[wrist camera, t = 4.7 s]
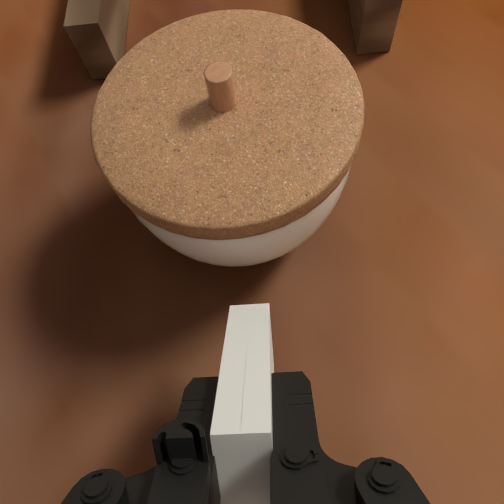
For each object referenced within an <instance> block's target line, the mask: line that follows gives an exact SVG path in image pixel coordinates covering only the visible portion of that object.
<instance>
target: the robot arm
mask: <svg viewBox="0 0 504 504" xmlns="http://www.w3.org/2000/svg"><path fill="white" fill-rule="evenodd" d="M152 442H153V446H154V451H155V456H156V461H157V466H155V467H154V468H152V469H150V470H149V471H146V472H144V473H141V474H138V475H135V476H132V477H129V478H125V479H124V477H123V476H122V475H121V473H120V472H118V471H116V470H113V469H100V470H97V471H94V472H91V473H89V474H88V475H86V476H85V477H83V478H81V479H80V480H79V481H78V482H77V483H76V485H75V486H74V487H73V488H72V489H71V491H70V492H69V493H68V495H67V496H66V497H65V499H64V500H63V502H62V503H61V504H430V503H429V501H428V500H427V498H426V497H425V495H424V494H423V492H422V491H421V489H420V488H419V486H418V485H417V483H416V482H415V480H414V479H413V477H412V476H411V474H410V473H409V472H408V471H407V470H406V469H405V468H404V466H403V465H401V464H399V463H397V462H396V461H394V460H391V459H387V458H383V457H377V458H370V459H367V460H365V461H363V462H362V463H361V464H360V465H359V466H358V467H357V468H356V467H352V466H348V465H344V464H341V463H338V462H336V461H334V460H333V459H331V458H330V457H328V456H327V455H326V454H325V453H324V451H323V450H322V448H321V447H320V443H319V439H318V432H317V425H316V418H315V412H314V406H313V398H312V391H311V384H310V381H309V379H308V378H307V377H306V376H305V374H304V373H303V372H302V371H301V372H281V373H274V362H273V348H272V335H271V322H270V308H269V303H265V304H248V305H230V309H229V315H228V322H227V328H226V334H225V341H224V347H223V354H222V360H221V366H220V373H219V377H200V378H193V379H192V381H191V382H190V383H189V384H188V385H187V386H186V388H185V390H184V393H183V397H182V403H181V405H180V409H179V413H178V417H177V420H174V421H171V422H169V423H167V424H165V425H163V426H162V427H161V428H160V429H159V430H157V431H156V433H155V435H154V437H153V438H152Z"/></svg>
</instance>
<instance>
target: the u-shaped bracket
mask: <svg viewBox="0 0 504 504" xmlns="http://www.w3.org/2000/svg"><path fill="white" fill-rule="evenodd" d="M347 3H348V8H349V14H350V19H351V25H352V30H353V35H354V41H355V46H356V52H357V54H368V53H378V52H389V51H390V47H391V43H392V39H393V35H394V31H395V27H396V23H397V19H398V15H399V11H400V8H401V4H402V0H347ZM129 6H130V0H68V3H67V9H66V14H65V20H64V26H63V27H64V28H65V30H66V32H67V34H68V36H69V38H70V39H71V41H72V43H73V45H74V47H75V49H76V50H77V52H78V54H79V56H80V58H81V60H82V61H83V63H84V65H85V67H86V69H87V71H88V72H89V74H90V76H91V78H92V79H103V78H107V76H108V74H109V73H110V72H111V70H112V69H113V68H114V66H115V65H116V63H117V62H118V61H119V60H120V59H121V58H122V57H123V56H124V55H125V47H126V37H127V26H128V16H129Z"/></svg>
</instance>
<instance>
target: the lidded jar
mask: <svg viewBox="0 0 504 504" xmlns="http://www.w3.org/2000/svg"><path fill="white" fill-rule="evenodd" d="M364 106H365V105H364V99H363V93H362V88H361V85H360V82H359V80H358V77H357V75H356V72H355V70H354V69H353V67H352V66H351V64H350V62H349V61H348V59H347V58H346V56H345V55H344V54H343V53H342V52H341V51H340V50H339V49H338V48H337V46H336V45H335V44H334V43H333V42H331V41H330V40H329V39H328V38H327V37H325V36H324V35H323V34H322V33H320V32H319V31H317V30H315V29H313V28H312V27H310V26H308V25H306V24H304V23H302V22H299V21H297V20H295V19H292V18H290V17H287V16H283V15H279V14H275V13H271V12H264V11H258V10H222V11H213V12H208V13H203V14H199V15H195V16H191V17H188V18H185V19H182V20H178V21H176V22H174V23H172V24H170V25H167V26H165V27H163V28H161V29H159V30H157V31H156V32H154V33H152V34H151V35H149V36H147V37H145V38H144V39H143V40H141V41H140V42H139V43H138V44H136V45H135V46H134V47H133V48H131V49H130V50H129V51H128V52H127V53H126V54H125V55H124V56H123V57H122V58H121V59H120V60H119V61H118V62H117V63H116V65H115V66H114V68H113V69H112V70H111V72H110V73H109V74H108V76H107V78H106V79H105V81H104V83H103V85H102V87H101V88H100V90H99V93H98V96H97V99H96V102H95V105H94V108H93V113H92V120H91V144H92V148H93V152H94V156H95V160H96V162H97V164H98V166H99V168H100V171H101V173H102V175H103V177H104V178H105V180H106V181H107V182H108V184H109V185H110V186H111V188H112V189H113V190H114V192H115V193H116V194H117V196H118V197H119V198H120V200H121V201H122V202H123V203H124V204H126V205H127V206H128V207H129V208H130V209H131V211H132V212H133V213H134V215H135V216H136V217H137V218H138V219H139V221H140V222H141V223H142V224H143V225H144V226H145V227H146V228H147V229H148V230H150V231H151V232H152V233H153V234H154V235H155V236H156V237H157V238H158V239H160V240H161V241H162V242H163V243H165V244H166V245H168V246H169V247H171V248H173V249H174V250H176V251H177V252H179V253H181V254H183V255H185V256H187V257H190V258H192V259H194V260H197V261H200V262H204V263H208V264H212V265H219V266H230V267H234V266H250V265H255V264H259V263H264V262H267V261H270V260H273V259H275V258H278V257H281V256H283V255H284V254H286V253H288V252H290V251H292V250H294V249H296V248H297V247H298V246H300V245H301V244H302V243H304V242H305V241H306V240H308V239H309V238H310V237H311V236H312V235H313V234H314V233H315V232H316V231H317V230H318V229H319V227H320V226H321V225H322V224H323V222H324V221H325V220H326V218H327V217H328V216H329V214H330V213H331V211H332V210H333V208H334V207H335V205H336V203H337V201H338V199H339V197H340V194H341V192H342V190H343V188H344V185H345V183H346V181H347V178H348V174H349V171H350V167H351V164H352V162H353V160H354V157H355V155H356V153H357V150H358V146H359V142H360V138H361V134H362V130H363V125H364Z"/></svg>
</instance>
